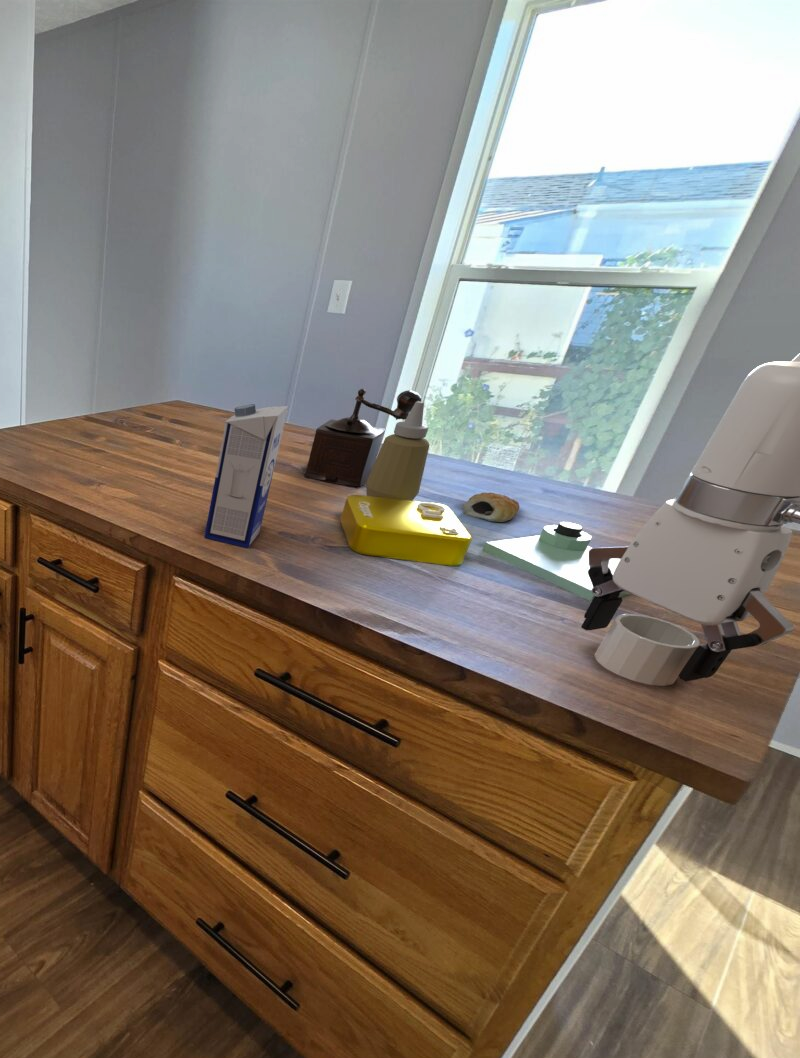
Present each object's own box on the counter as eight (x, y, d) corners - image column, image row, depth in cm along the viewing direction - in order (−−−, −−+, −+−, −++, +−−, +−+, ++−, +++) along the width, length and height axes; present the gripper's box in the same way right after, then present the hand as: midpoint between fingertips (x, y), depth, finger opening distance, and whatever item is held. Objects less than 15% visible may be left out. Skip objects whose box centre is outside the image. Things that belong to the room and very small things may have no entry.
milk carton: (248, 548, 98) (278, 414, 88) (203, 538, 101) (227, 407, 91) (259, 532, 103) (289, 404, 93) (217, 523, 106) (241, 397, 96)
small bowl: (687, 685, 69) (716, 642, 67) (641, 695, 68) (669, 652, 65) (620, 651, 75) (644, 610, 72) (576, 659, 73) (599, 618, 71)
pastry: (485, 503, 116) (494, 482, 114) (527, 516, 111) (537, 495, 109) (457, 513, 112) (465, 491, 110) (499, 527, 107) (509, 505, 105)
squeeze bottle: (407, 520, 108) (445, 411, 99) (354, 508, 113) (387, 402, 104) (415, 506, 114) (452, 401, 105) (365, 495, 118) (396, 394, 109)
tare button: (582, 537, 97) (587, 528, 96) (568, 539, 96) (573, 530, 95) (564, 530, 99) (568, 520, 98) (550, 532, 98) (554, 522, 98)
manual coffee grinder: (301, 477, 127) (325, 381, 118) (317, 464, 134) (341, 372, 125) (389, 496, 118) (422, 394, 109) (401, 480, 126) (433, 384, 117)
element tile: (338, 517, 109) (346, 489, 107) (439, 529, 105) (449, 501, 103) (350, 553, 97) (360, 523, 94) (465, 569, 93) (478, 538, 91)
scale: (668, 588, 89) (680, 569, 87) (590, 601, 85) (601, 581, 84) (553, 540, 102) (562, 523, 101) (481, 550, 99) (489, 532, 97)
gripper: (885, 535, 55) (762, 695, 64) (659, 470, 70) (583, 607, 78) (828, 543, 54) (709, 707, 62) (608, 474, 68) (536, 615, 76)
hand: (639, 651), depth 70 cm, fingers open, 9 cm apart
